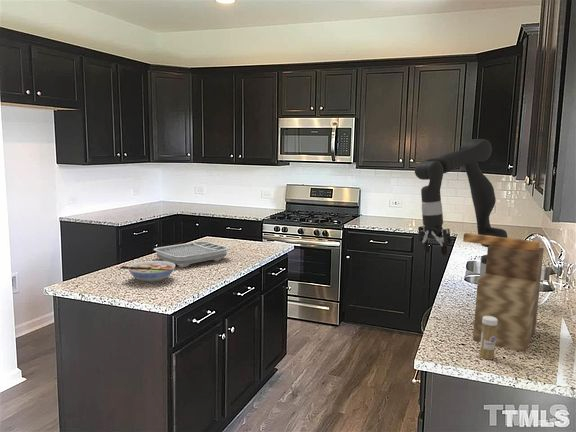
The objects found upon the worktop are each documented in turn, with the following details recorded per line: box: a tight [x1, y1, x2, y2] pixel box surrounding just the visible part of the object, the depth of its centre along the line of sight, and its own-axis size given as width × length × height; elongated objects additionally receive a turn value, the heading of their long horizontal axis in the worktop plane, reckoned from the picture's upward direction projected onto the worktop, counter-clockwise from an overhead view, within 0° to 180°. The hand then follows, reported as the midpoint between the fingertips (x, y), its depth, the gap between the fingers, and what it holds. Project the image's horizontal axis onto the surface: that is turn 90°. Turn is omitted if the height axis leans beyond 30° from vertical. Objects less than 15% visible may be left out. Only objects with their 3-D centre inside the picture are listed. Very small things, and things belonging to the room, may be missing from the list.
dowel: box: [462, 232, 541, 251], centre depth 177 cm, size 26×3×3 cm, turn 55°
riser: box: [472, 245, 545, 353], centre depth 172 cm, size 17×24×32 cm
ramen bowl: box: [119, 260, 177, 284], centre depth 232 cm, size 25×23×8 cm
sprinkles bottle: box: [478, 316, 498, 360], centre depth 154 cm, size 5×5×13 cm
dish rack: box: [153, 240, 230, 268], centre depth 275 cm, size 32×37×8 cm
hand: (435, 253), depth 184 cm, fingers open, 8 cm apart
